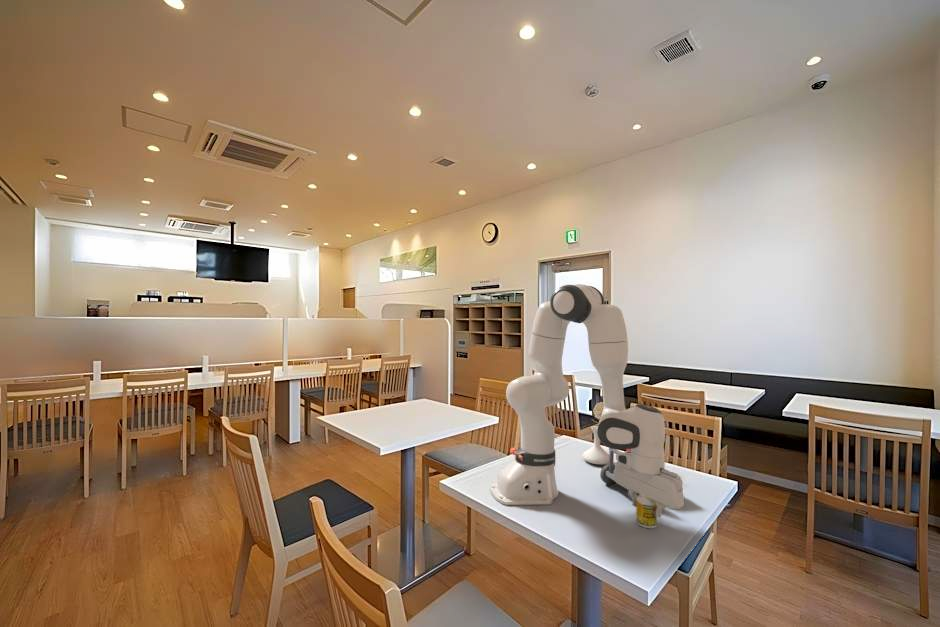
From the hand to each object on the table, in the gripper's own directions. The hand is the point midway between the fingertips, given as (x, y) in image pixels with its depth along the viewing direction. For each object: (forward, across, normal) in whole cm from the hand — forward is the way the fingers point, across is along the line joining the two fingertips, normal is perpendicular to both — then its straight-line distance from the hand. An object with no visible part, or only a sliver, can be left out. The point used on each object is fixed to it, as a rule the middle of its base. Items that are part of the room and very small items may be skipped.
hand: (646, 511), depth 113 cm
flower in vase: (+4, +40, -24) cm, 47 cm away
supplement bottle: (+4, 0, 0) cm, 4 cm away
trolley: (+4, +15, -16) cm, 22 cm away
